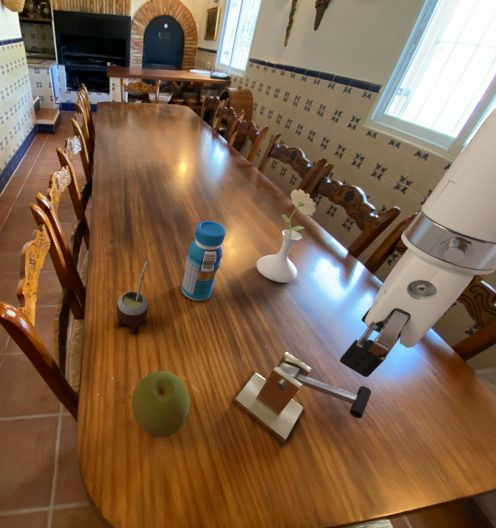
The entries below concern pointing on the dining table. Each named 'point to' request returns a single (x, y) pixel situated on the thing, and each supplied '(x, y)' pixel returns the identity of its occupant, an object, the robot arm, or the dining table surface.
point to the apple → (160, 403)
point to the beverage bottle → (203, 260)
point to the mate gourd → (132, 307)
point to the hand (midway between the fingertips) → (363, 345)
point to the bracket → (274, 398)
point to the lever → (332, 390)
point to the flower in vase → (286, 244)
